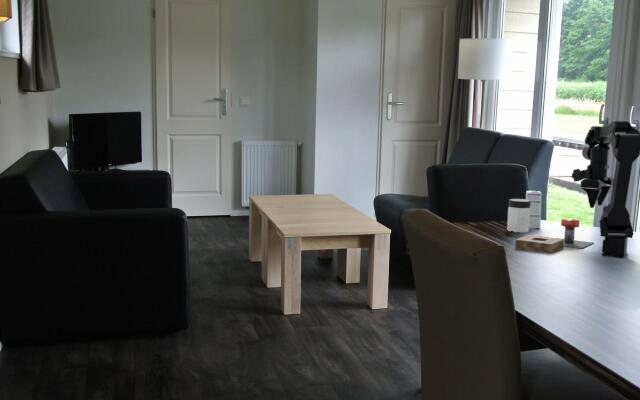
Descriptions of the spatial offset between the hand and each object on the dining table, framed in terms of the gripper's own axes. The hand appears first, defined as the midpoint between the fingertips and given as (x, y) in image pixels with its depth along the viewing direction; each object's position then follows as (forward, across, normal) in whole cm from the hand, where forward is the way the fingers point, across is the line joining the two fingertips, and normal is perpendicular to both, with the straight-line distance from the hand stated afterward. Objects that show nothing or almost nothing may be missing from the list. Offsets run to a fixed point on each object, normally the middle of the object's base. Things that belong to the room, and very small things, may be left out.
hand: (595, 206), depth 243 cm
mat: (+13, +8, -6) cm, 16 cm away
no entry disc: (+13, +8, -6) cm, 16 cm away
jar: (+13, -6, -30) cm, 33 cm away
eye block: (+13, +23, -11) cm, 29 cm away
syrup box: (+13, -18, -29) cm, 37 cm away
